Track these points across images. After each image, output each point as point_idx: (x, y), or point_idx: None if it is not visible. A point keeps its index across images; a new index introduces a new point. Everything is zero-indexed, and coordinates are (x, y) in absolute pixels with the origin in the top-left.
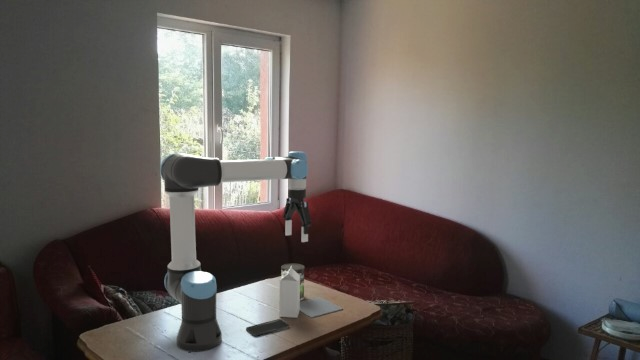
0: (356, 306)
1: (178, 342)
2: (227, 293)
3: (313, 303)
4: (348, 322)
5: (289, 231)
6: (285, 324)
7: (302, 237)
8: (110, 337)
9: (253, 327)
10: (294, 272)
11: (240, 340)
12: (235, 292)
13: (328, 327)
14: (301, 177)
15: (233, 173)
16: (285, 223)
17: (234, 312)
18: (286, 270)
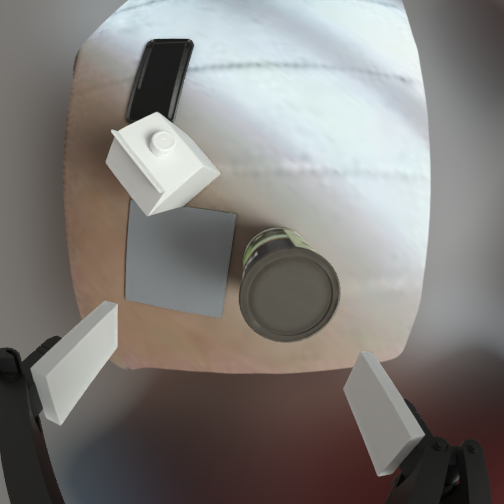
0: (124, 333)
1: None
2: (421, 152)
3: (195, 270)
4: (71, 250)
5: (358, 393)
6: (139, 118)
7: (86, 316)
8: None
9: (182, 53)
10: (144, 188)
11: (161, 17)
12: (415, 172)
13: (76, 196)
14: None
15: None
16: (412, 414)
17: (301, 74)
18: (277, 248)
